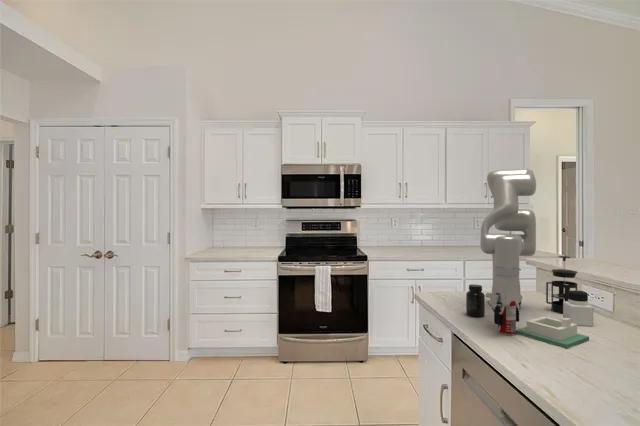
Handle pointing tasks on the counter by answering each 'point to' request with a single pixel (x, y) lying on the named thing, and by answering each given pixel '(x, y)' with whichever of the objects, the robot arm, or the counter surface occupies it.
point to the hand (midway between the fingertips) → (506, 322)
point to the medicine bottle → (578, 308)
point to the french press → (560, 287)
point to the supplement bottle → (475, 301)
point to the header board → (553, 332)
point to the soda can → (509, 319)
